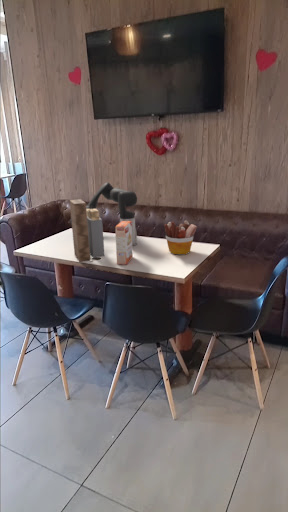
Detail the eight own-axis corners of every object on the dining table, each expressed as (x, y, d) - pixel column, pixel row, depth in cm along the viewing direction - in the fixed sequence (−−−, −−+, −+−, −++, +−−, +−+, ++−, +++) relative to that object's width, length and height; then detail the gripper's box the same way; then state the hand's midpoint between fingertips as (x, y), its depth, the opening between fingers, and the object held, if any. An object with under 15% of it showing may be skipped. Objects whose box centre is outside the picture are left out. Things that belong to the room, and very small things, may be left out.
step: (99, 250, 218) (96, 215, 212) (104, 256, 208) (102, 219, 201) (88, 252, 216) (85, 216, 210) (93, 257, 206) (90, 220, 199)
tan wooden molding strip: (89, 212, 221) (89, 204, 220) (99, 219, 200) (98, 210, 198) (83, 213, 220) (82, 205, 218) (92, 220, 199) (91, 211, 197)
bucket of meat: (175, 246, 222) (174, 214, 216) (199, 250, 213) (200, 216, 207) (158, 255, 206) (157, 220, 200) (184, 259, 198) (184, 223, 192)
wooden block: (84, 253, 214) (80, 199, 204) (90, 260, 201) (85, 202, 191) (74, 255, 212) (69, 200, 202) (79, 261, 199) (74, 203, 189)
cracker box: (127, 265, 192) (125, 226, 185) (116, 264, 193) (114, 226, 187) (133, 256, 205) (132, 220, 198) (123, 256, 206) (121, 220, 200)
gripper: (91, 218, 241) (96, 210, 226) (70, 221, 236) (73, 212, 221) (89, 208, 242) (93, 198, 227) (68, 210, 237) (71, 200, 222)
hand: (83, 205), depth 224 cm, fingers open, 8 cm apart
